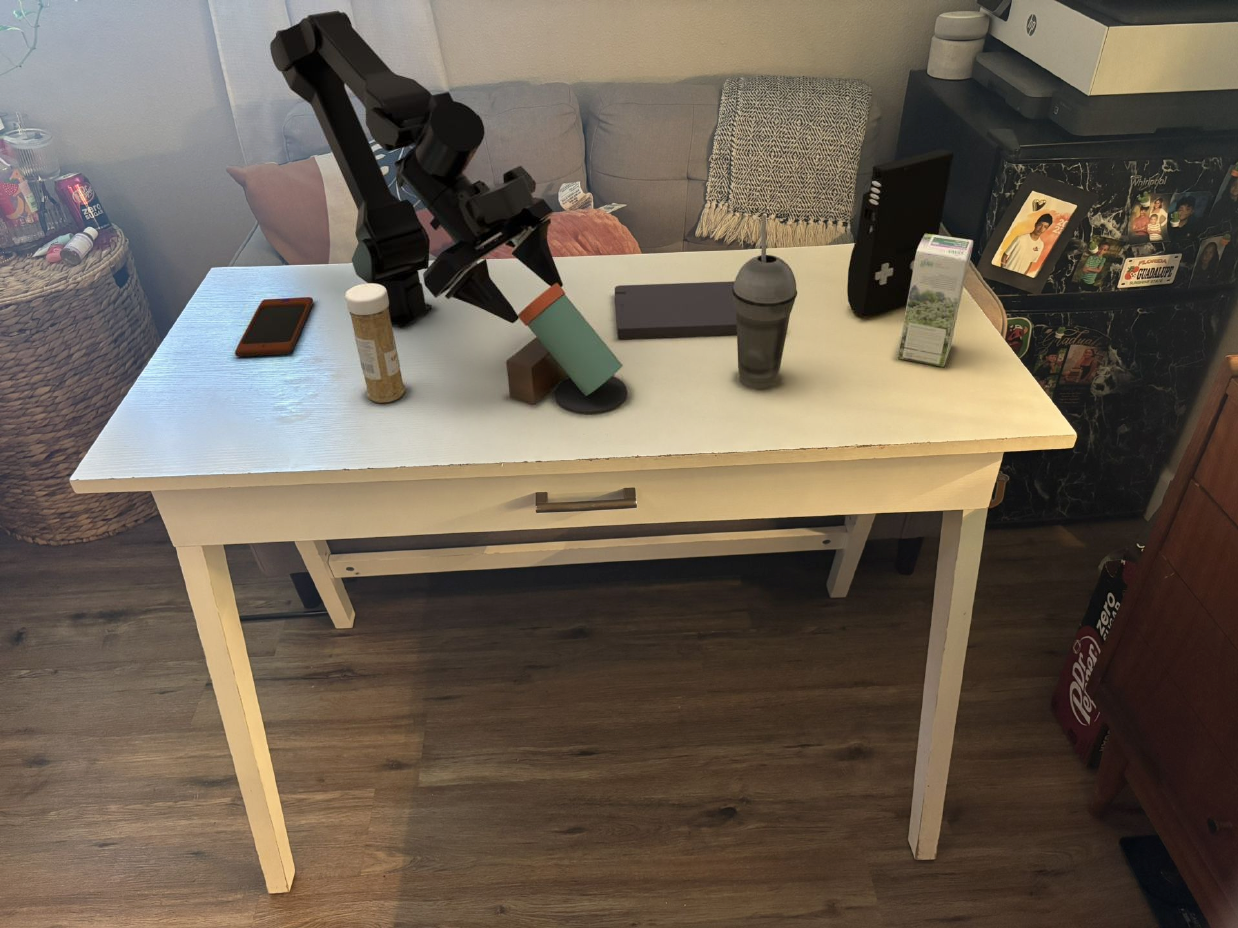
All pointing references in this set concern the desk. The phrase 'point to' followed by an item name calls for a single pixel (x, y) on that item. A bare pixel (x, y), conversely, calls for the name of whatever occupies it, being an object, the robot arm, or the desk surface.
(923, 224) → the handheld gaming console
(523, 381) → the block
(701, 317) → the notebook
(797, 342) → the desk surface
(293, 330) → the smartphone
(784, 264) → the beverage cup
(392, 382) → the sprinkles bottle
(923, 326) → the syrup box
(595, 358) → the container
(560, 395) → the coaster
